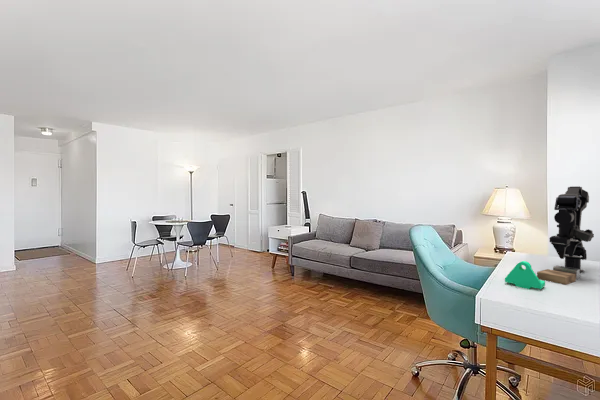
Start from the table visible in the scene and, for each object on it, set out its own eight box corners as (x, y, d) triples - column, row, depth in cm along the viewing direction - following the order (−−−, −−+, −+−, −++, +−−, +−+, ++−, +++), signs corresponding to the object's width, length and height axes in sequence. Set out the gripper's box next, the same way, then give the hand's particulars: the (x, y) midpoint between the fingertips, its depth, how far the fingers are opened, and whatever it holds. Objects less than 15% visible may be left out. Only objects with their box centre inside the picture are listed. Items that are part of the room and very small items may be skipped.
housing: (556, 274, 140) (556, 265, 140) (579, 278, 134) (579, 268, 134) (553, 276, 137) (553, 266, 137) (576, 280, 131) (576, 270, 131)
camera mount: (545, 287, 121) (546, 262, 121) (541, 291, 116) (541, 265, 116) (510, 280, 130) (510, 257, 130) (504, 284, 125) (505, 259, 125)
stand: (547, 275, 137) (547, 268, 137) (575, 281, 129) (575, 274, 128) (536, 278, 132) (537, 271, 132) (565, 284, 124) (565, 277, 124)
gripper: (582, 226, 123) (581, 263, 124) (599, 223, 132) (598, 258, 133) (549, 223, 133) (548, 258, 133) (567, 221, 142) (566, 254, 143)
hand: (566, 257), depth 135 cm, fingers open, 9 cm apart
